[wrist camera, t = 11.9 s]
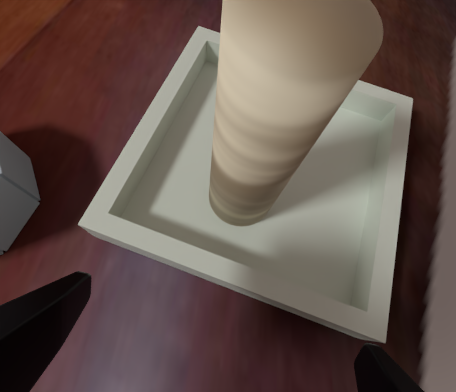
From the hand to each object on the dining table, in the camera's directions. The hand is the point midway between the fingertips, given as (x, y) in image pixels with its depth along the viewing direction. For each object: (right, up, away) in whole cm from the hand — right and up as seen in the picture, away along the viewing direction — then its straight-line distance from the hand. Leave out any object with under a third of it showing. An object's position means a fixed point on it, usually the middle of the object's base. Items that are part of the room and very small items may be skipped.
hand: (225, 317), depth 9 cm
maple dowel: (+1, +4, +11) cm, 11 cm away
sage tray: (+3, +6, +12) cm, 14 cm away
